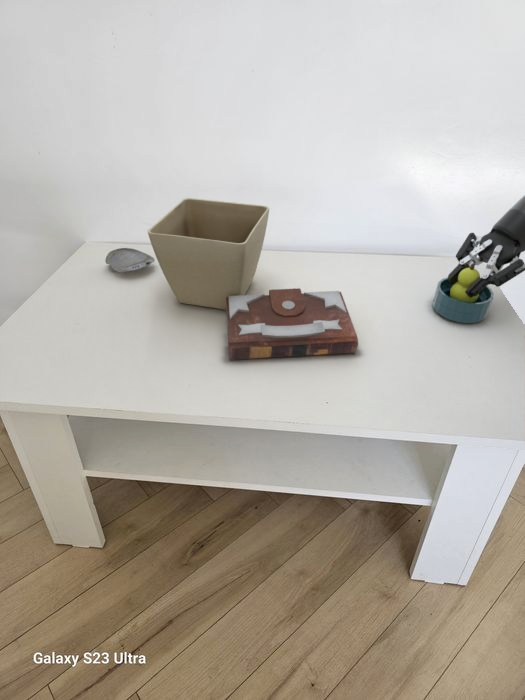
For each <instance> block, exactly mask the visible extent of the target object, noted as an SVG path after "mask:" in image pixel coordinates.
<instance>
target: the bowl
mask: <svg viewBox="0 0 525 700" xmlns="http://www.w3.org/2000/svg"><path fill="white" fill-rule="evenodd" d="M447 278H448V276H447V277H445V278H441V280H439V281H438V283H437V286H436V290H435V292H434V293H435V294H434V296H433V301H432V307H433V310H434V311H435V312H436V313H437V314H439V315H440V316H442V317H443V318H445V319H448V320H450V321H452V322H457V323H462V324H463V323H464V324H474V323H479V322H481V321H483V320H485V319H486V317H487V316H488V313H489V311H490V309H491V305H492V303H493V301H494V296H495V293H494V291H493V289H492V288H491V287H490V286H489V285H487V286H486V287H485V288H484V289H483V290H482V291H481V292H480V293H479V296H478V299H477V300H476V302H475V303H467V302H462V301H458V300H455V299H453V298H451V297H450V290H451V288H452V286H453V285H452V284H450V283H449V281H448V280H447ZM457 282H458V281H457Z"/></svg>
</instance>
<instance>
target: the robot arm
mask: <svg viewBox="0 0 525 700" xmlns="http://www.w3.org/2000/svg"><path fill="white" fill-rule="evenodd" d="M523 252H525V194H524V195H523V196H522V197H520V198H519V199H518V200H517V201H516V202H515V203H514V204H513V205H512V206H511V207H510V208H509V209H508V211H506V212H505V214H503V216H501V218H499V219H498V220H497V222H495V223H494V224H493V226H492V228H491V230H490V231H489V232H487V233H486V234H484V235H482V236H479V235H476V234H475V232H470V233H468V235H467V237H466V238H465V240H464V241H463V243H462V245H460V248H459V249H458V251H457V253H456V254H455V258H456V260H457V261H458V263H457V265H456V266H455V267H454V268H453V269H452V270H451V271H450V273H449V274H448V275H447V277H448V278H447V277H446V278H447V280H448V281H449V283H450V284H452V285H454V284H455V283H456V282H457V281H458V275H459V273H460V272H461V271H462V270H463V269H465V268H470V266H471V264H472V263H474V264H475V266H480V265H481V264H483V263H485V264H486V266H485V270H484V271H483V273H482V274H481V276H480V277H479V278H478V279H477V280H476V281H475V282H474V283H473V284H472V285H471V286H470V287H469V288H468V289H467V290H466V291H465V293H466V294H467V295H468V296H469V297H470V298H472V297H473V296H476V295H478V294H479V293H480V292H481V291H482V290H483V289H484V288H485V287H486V286H490V285H493V286H495V287H497V288H499V287H501V286H502V285H504V284H506V283H508V282H509V281H511V280H513V279H514V278H516V277H517V276H519V275H521V274H522V273H523V272H525V262H524V260H523V259H522V258H520V256H521V254H522V253H523ZM477 256H478V257H477ZM508 264H509V265H508ZM505 265H507V266H505ZM504 266H505V267H504ZM503 267H504V268H503Z"/></svg>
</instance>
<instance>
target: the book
mask: <svg viewBox="0 0 525 700" xmlns="http://www.w3.org/2000/svg"><path fill="white" fill-rule="evenodd" d="M226 304H227V310H226V323H227V324H226V325H227V342H228V343H227V344H228V358H229V360H231V361H232V360H245V359H246V360H247V359H265V358H282V357H283V358H284V357H302V356H315V355H316V356H320V355H334V354H335V355H337V354H353V353H355V354H356V353H357V351H358V347H359V338H358V335H357V332H356V329H355V326H354V324H353V321H352V317H351V315H350V312H349V310H348V307H347V305H346V302H345V299H344V296H343V294H342V291H340V290H327V291H307V292H306V291H305V292H302V289H301V288H300V287H298V288H279V289H278V288H277V289H268V294H265V293H264V294H261V293H260V294H245V295H238V296H228V297H226Z"/></svg>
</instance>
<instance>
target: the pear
mask: <svg viewBox="0 0 525 700" xmlns="http://www.w3.org/2000/svg"><path fill="white" fill-rule="evenodd" d="M475 266H476V265H475V264H474V263H472V264H471V266H470V268H465V269H463V270H462V271H461V272H460V273H459V275H458V282H456V283H455V284H454V285H453V286H452V288H451V290H450V297H451V298H453V299H455V300H458V301H462V302H467V303H475V302H476V300H477V299H478V296H479V294H478V295H476V296H473V297H472V298H470V297H469V296H468V295H467V294H466V293H465V291H466V290H467V289H468V288H469V287H470V286H471V285H472V284H473V283H474V282H475V281H476V280H477V279H478V278H479V277H480V278H481V275H480V272H479V271H478V270H477V268H475Z"/></svg>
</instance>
